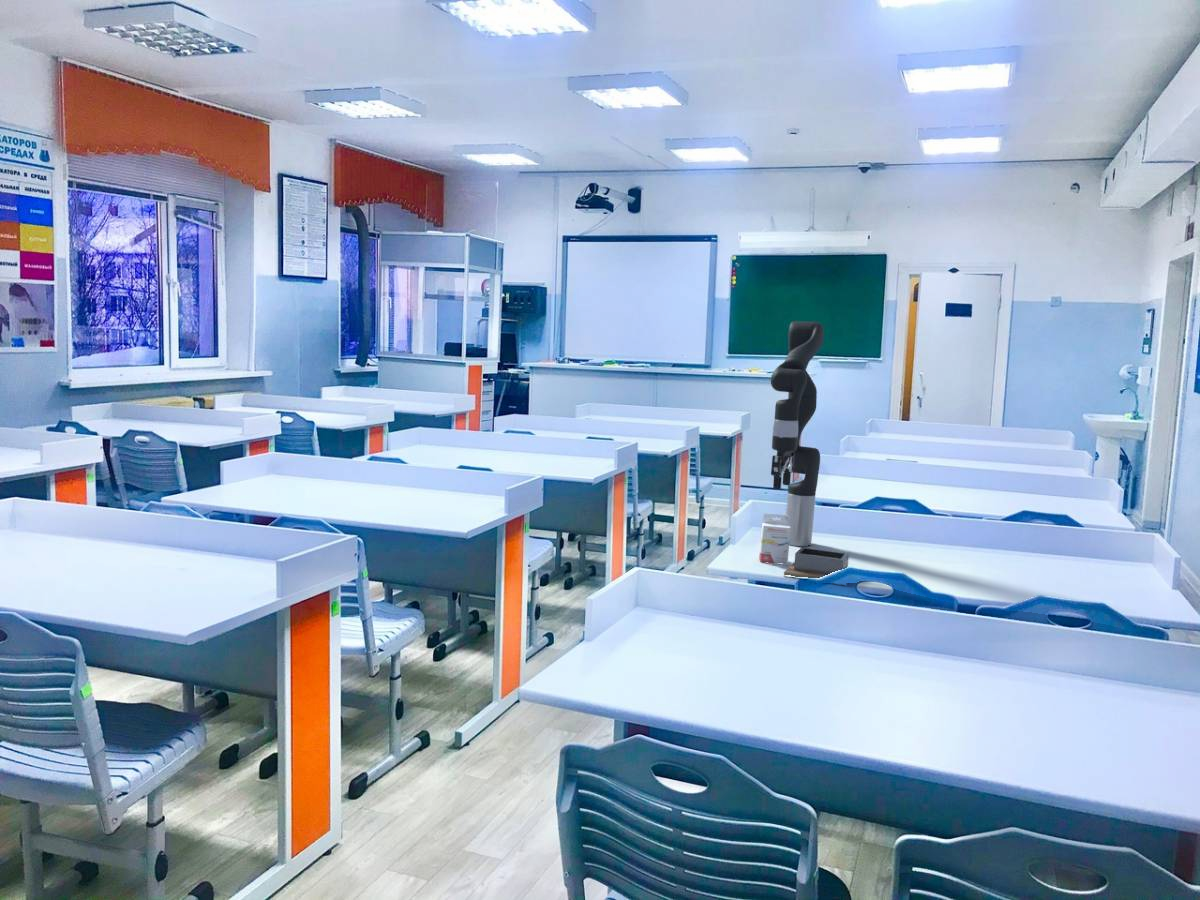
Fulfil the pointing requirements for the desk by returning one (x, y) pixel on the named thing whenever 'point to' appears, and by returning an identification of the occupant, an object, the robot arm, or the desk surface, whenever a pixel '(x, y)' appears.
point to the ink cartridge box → (775, 539)
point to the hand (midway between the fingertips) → (781, 486)
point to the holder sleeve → (820, 561)
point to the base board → (801, 573)
